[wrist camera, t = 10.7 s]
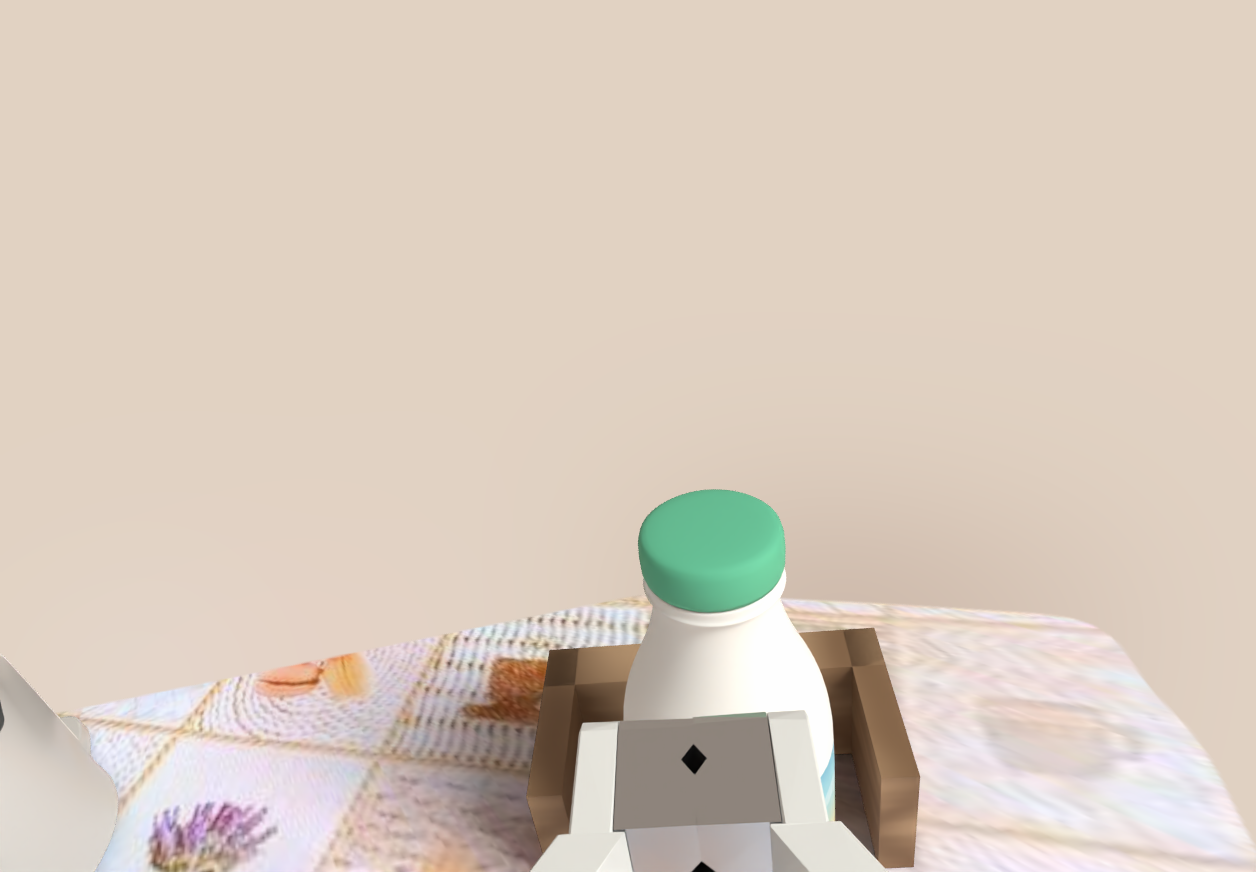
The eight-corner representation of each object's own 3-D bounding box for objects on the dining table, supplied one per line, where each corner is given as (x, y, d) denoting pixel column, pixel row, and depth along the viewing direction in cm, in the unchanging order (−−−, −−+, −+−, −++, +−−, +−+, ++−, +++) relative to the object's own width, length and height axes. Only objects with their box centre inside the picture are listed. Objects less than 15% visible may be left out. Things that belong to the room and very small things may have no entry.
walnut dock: (551, 882, 38) (526, 796, 35) (568, 731, 45) (549, 650, 42) (913, 866, 36) (919, 776, 33) (871, 713, 44) (874, 627, 41)
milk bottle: (646, 830, 39) (584, 475, 29) (808, 808, 39) (802, 445, 29) (662, 1008, 33) (589, 627, 23) (857, 982, 33) (871, 589, 23)
